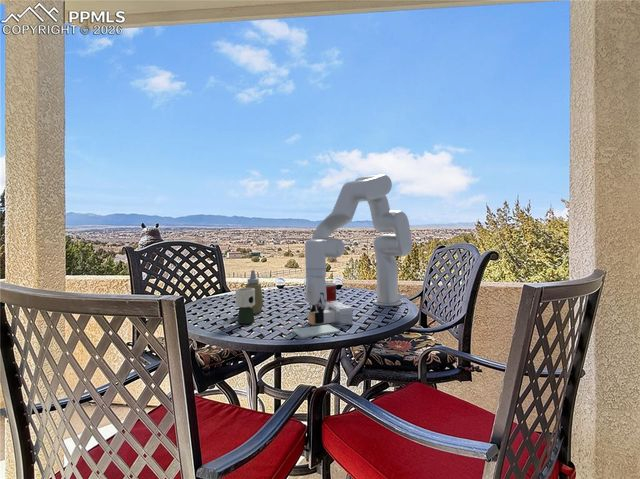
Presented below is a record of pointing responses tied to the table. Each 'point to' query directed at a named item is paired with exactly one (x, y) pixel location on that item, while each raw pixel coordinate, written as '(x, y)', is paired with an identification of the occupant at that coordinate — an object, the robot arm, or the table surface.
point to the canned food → (330, 292)
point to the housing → (341, 312)
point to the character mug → (245, 304)
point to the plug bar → (328, 317)
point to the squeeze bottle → (256, 292)
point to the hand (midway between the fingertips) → (317, 321)
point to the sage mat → (315, 331)
